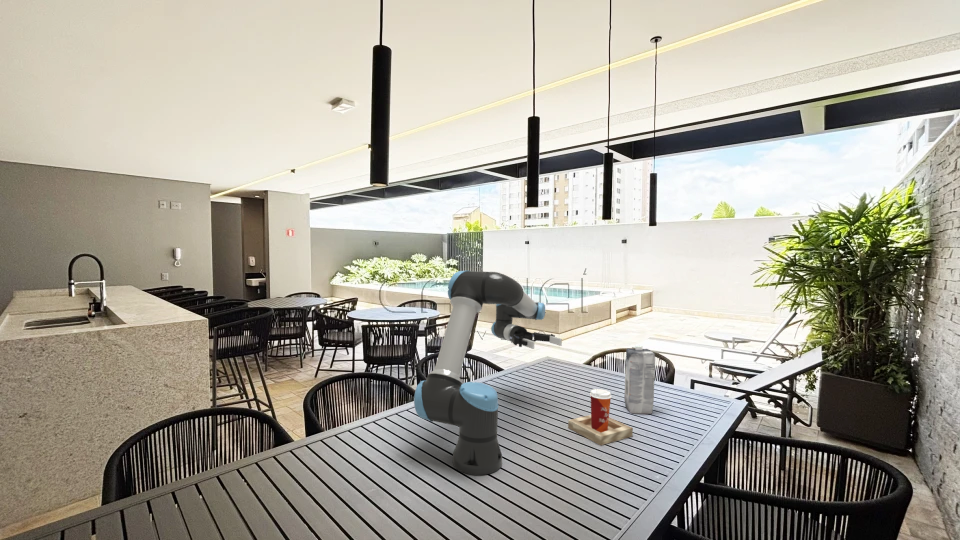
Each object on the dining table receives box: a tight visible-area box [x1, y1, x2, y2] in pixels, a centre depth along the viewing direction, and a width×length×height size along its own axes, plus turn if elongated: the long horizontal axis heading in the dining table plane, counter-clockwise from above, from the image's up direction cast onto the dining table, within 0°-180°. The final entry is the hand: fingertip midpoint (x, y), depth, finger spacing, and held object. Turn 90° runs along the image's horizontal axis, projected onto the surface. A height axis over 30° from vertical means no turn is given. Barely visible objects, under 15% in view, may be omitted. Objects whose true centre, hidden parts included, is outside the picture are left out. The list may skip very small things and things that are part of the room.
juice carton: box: [623, 345, 656, 415], centre depth 172 cm, size 9×10×27 cm
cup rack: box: [567, 414, 634, 446], centre depth 150 cm, size 16×16×3 cm
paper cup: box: [589, 388, 613, 433], centre depth 150 cm, size 8×8×14 cm
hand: (547, 343), depth 159 cm, fingers open, 13 cm apart
